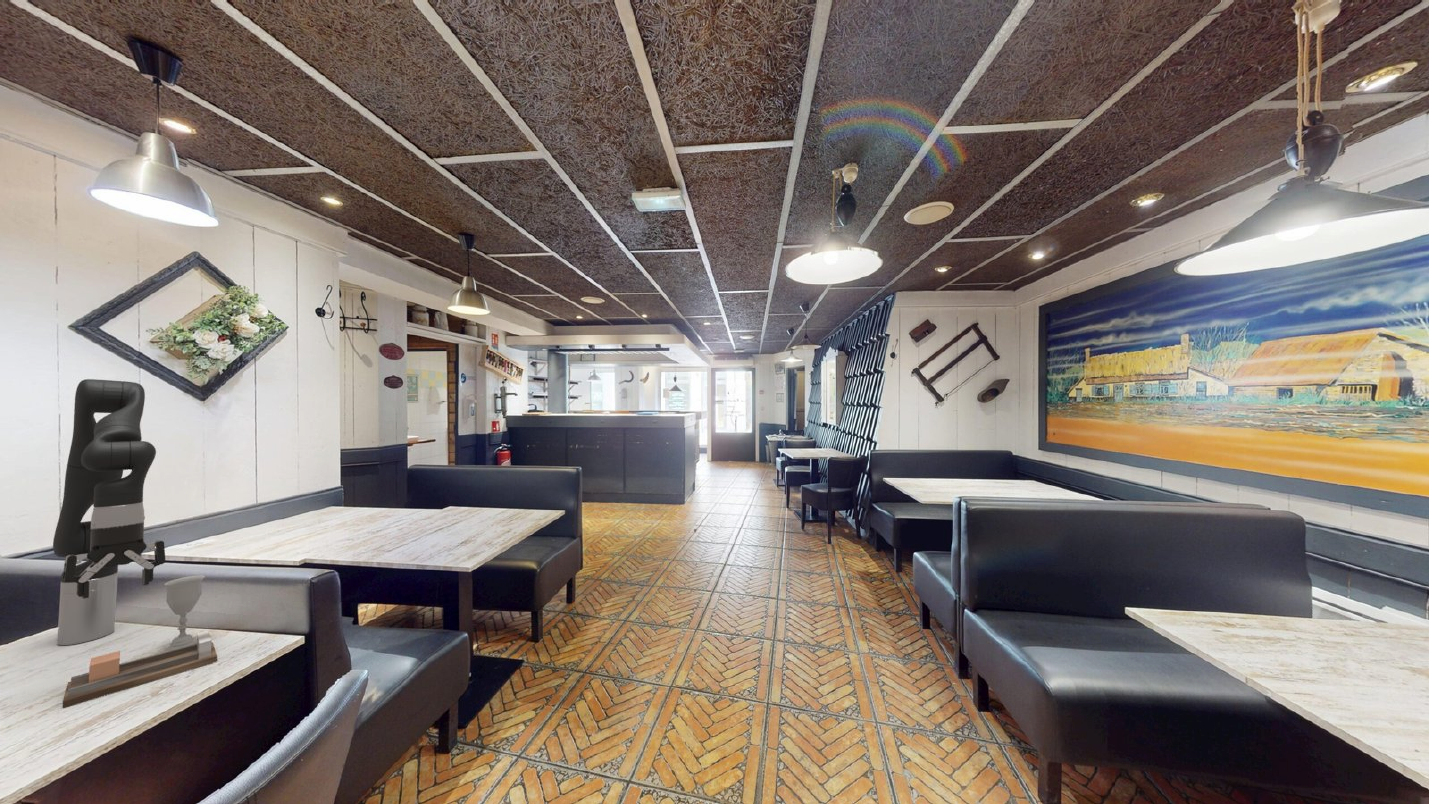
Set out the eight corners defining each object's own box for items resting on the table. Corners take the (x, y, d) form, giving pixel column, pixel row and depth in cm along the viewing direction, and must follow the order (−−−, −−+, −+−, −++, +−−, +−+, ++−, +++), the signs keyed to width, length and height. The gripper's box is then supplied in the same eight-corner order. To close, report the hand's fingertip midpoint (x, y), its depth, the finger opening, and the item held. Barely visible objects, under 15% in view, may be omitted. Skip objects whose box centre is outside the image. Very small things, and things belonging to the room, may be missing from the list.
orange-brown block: (89, 679, 100) (91, 658, 100) (119, 671, 103) (120, 650, 103) (88, 688, 97) (89, 665, 97) (118, 679, 100) (119, 657, 100)
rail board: (67, 688, 99) (68, 664, 99) (212, 647, 117) (213, 627, 117) (62, 708, 92) (63, 682, 93) (216, 661, 110) (217, 640, 110)
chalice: (176, 653, 114) (180, 585, 115) (152, 652, 114) (155, 585, 115) (209, 638, 121) (212, 575, 122) (186, 638, 121) (189, 575, 122)
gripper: (160, 516, 111) (159, 579, 110) (61, 529, 98) (59, 600, 98) (169, 517, 108) (168, 582, 107) (68, 531, 95) (65, 605, 94)
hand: (116, 591), depth 102 cm, fingers open, 8 cm apart
